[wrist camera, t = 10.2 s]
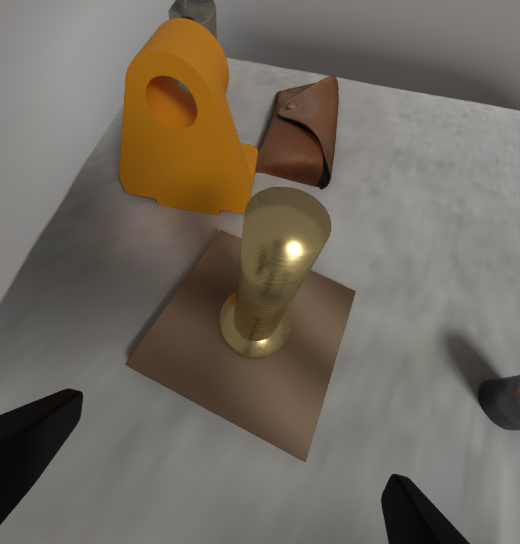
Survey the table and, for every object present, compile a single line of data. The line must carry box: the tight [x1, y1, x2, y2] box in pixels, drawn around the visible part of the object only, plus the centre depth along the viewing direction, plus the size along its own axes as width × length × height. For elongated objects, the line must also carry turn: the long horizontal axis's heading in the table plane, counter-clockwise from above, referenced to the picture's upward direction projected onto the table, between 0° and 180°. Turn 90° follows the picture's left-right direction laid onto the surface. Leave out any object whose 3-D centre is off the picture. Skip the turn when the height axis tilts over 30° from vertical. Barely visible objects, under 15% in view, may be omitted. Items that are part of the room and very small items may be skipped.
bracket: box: [119, 18, 258, 215], centre depth 21 cm, size 11×7×12 cm, turn 83°
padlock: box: [169, 0, 217, 93], centre depth 27 cm, size 4×8×15 cm, turn 174°
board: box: [125, 230, 356, 462], centre depth 19 cm, size 12×12×1 cm
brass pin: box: [220, 187, 331, 359], centre depth 14 cm, size 5×5×11 cm
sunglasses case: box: [255, 75, 339, 190], centre depth 31 cm, size 18×7×7 cm, turn 169°
